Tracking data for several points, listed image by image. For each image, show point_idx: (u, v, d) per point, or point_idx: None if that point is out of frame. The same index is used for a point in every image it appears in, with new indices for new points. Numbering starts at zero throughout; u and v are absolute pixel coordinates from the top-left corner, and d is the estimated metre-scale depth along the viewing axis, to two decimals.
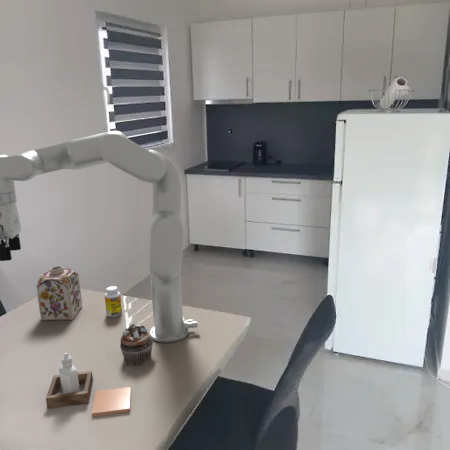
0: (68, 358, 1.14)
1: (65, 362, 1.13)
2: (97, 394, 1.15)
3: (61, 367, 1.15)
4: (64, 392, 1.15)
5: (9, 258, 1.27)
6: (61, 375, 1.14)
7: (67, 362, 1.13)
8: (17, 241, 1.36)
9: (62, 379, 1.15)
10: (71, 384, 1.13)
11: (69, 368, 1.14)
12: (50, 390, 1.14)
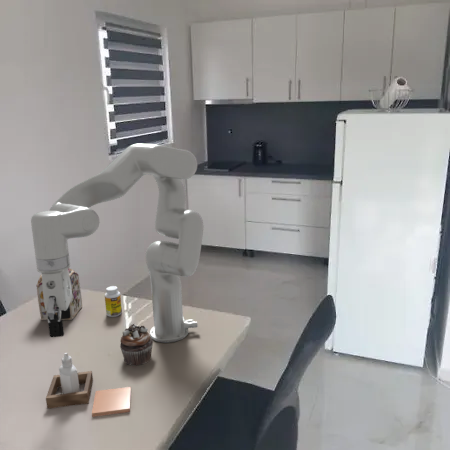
0: (68, 358, 1.14)
1: (65, 362, 1.13)
2: (97, 394, 1.15)
3: (61, 367, 1.15)
4: (64, 392, 1.15)
5: (61, 334, 1.07)
6: (61, 375, 1.14)
7: (67, 362, 1.13)
8: (67, 309, 1.15)
9: (62, 379, 1.15)
10: (71, 384, 1.13)
11: (69, 368, 1.14)
12: (50, 390, 1.14)
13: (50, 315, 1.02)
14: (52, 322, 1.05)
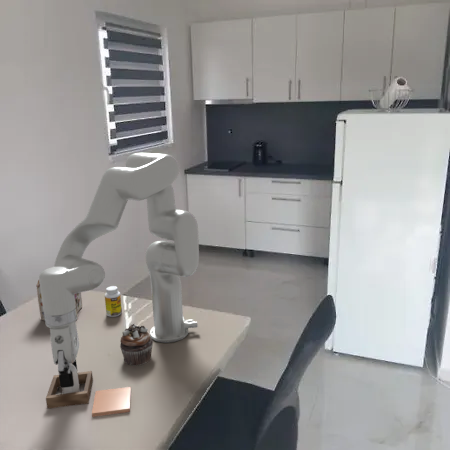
0: None
1: None
2: (97, 394, 1.15)
3: None
4: (64, 392, 1.15)
5: (71, 384, 1.13)
6: None
7: None
8: (74, 364, 1.18)
9: None
10: None
11: None
12: (50, 390, 1.14)
13: (61, 371, 1.08)
14: (62, 374, 1.11)
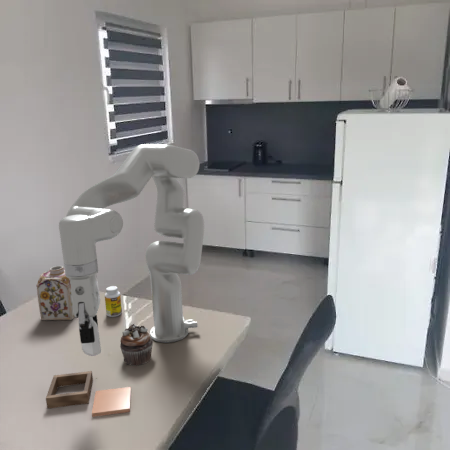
0: None
1: None
2: (97, 394, 1.15)
3: None
4: (84, 349, 1.10)
5: (92, 340, 1.07)
6: None
7: None
8: (94, 320, 1.12)
9: None
10: None
11: None
12: (50, 390, 1.14)
13: (81, 325, 1.02)
14: (83, 328, 1.05)
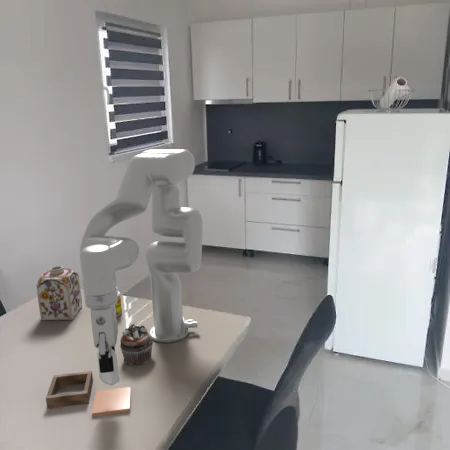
0: (107, 342, 1.08)
1: None
2: (97, 394, 1.15)
3: None
4: (102, 378, 1.10)
5: (111, 369, 1.07)
6: None
7: None
8: (112, 349, 1.12)
9: None
10: None
11: None
12: (50, 390, 1.14)
13: (102, 355, 1.02)
14: (103, 358, 1.05)
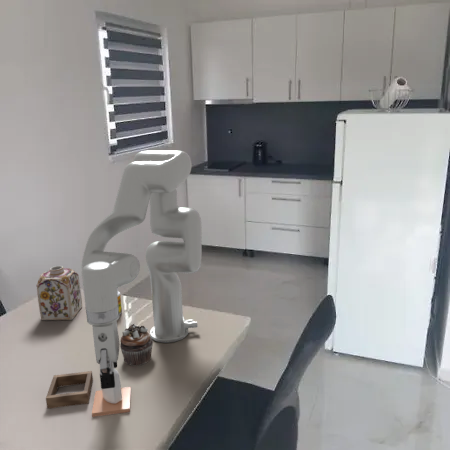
0: None
1: (107, 365, 1.09)
2: (97, 394, 1.15)
3: None
4: (105, 396, 1.11)
5: (113, 385, 1.07)
6: None
7: None
8: None
9: None
10: (114, 388, 1.09)
11: None
12: (50, 390, 1.14)
13: (103, 370, 1.02)
14: (104, 375, 1.05)
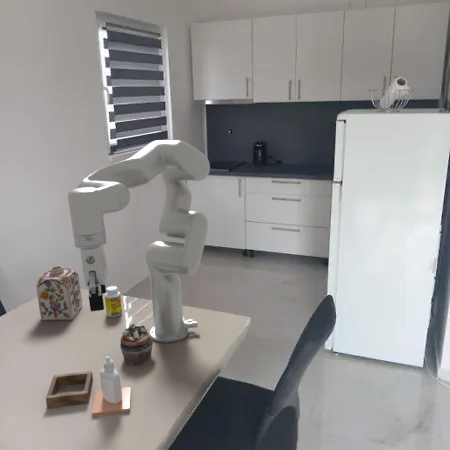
0: (110, 362, 1.10)
1: (107, 366, 1.09)
2: (97, 394, 1.15)
3: (103, 371, 1.10)
4: (106, 397, 1.11)
5: (102, 308, 1.09)
6: (103, 379, 1.10)
7: (109, 366, 1.09)
8: (102, 284, 1.17)
9: (104, 384, 1.10)
10: (114, 389, 1.09)
11: (111, 372, 1.10)
12: (50, 390, 1.14)
13: (92, 289, 1.04)
14: (93, 296, 1.07)
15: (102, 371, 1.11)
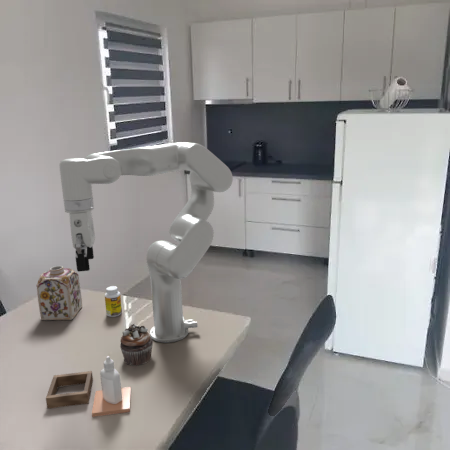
0: (110, 362, 1.10)
1: (108, 366, 1.09)
2: (97, 394, 1.15)
3: (103, 371, 1.11)
4: (106, 397, 1.11)
5: (87, 268, 1.19)
6: (103, 379, 1.10)
7: (110, 366, 1.09)
8: (90, 250, 1.28)
9: (104, 383, 1.10)
10: (114, 389, 1.09)
11: (111, 372, 1.10)
12: (50, 390, 1.14)
13: (78, 249, 1.15)
14: (79, 257, 1.17)
15: (102, 371, 1.11)
